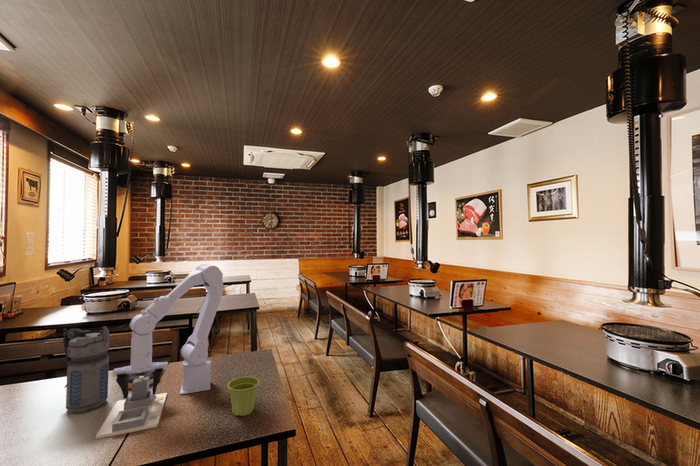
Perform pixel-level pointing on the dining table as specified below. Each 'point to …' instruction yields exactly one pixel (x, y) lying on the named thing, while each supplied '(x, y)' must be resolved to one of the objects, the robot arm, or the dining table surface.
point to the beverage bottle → (86, 369)
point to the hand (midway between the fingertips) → (140, 395)
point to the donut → (137, 375)
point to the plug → (140, 388)
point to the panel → (133, 415)
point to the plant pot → (243, 394)
